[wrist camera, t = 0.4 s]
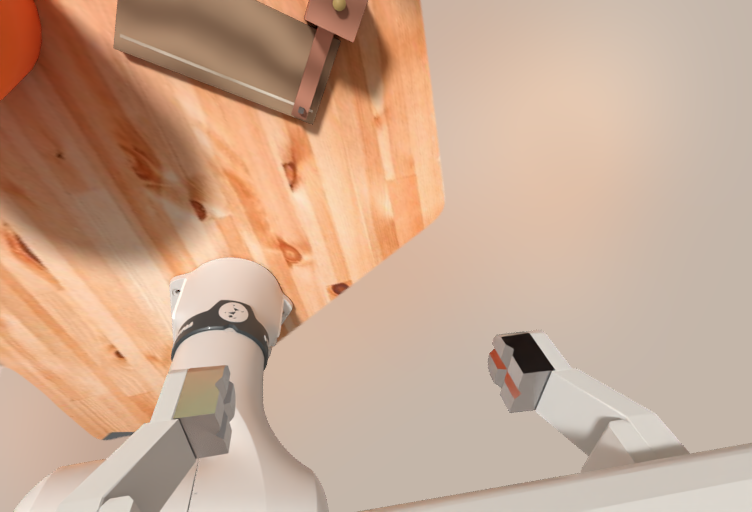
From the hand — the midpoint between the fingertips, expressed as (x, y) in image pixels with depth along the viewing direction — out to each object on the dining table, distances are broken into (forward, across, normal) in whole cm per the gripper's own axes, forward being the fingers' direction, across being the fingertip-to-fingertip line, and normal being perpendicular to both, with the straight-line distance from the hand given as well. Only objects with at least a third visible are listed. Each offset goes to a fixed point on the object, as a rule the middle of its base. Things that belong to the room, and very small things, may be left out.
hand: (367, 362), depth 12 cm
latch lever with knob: (+44, +1, +4) cm, 44 cm away
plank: (+44, -9, +5) cm, 45 cm away
